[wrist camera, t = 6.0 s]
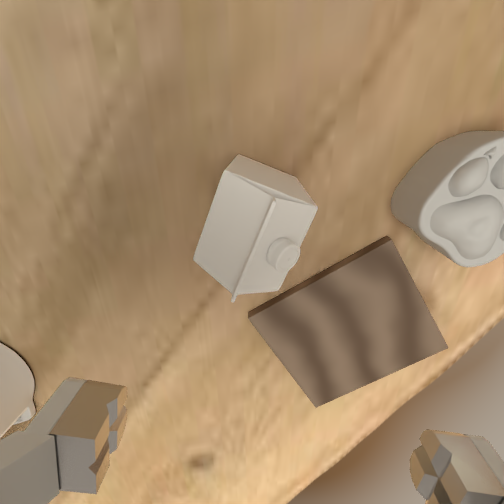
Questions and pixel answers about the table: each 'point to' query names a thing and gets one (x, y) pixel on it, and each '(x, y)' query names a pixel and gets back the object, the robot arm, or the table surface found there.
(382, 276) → the walnut board
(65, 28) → the table surface
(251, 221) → the milk carton
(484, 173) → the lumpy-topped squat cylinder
